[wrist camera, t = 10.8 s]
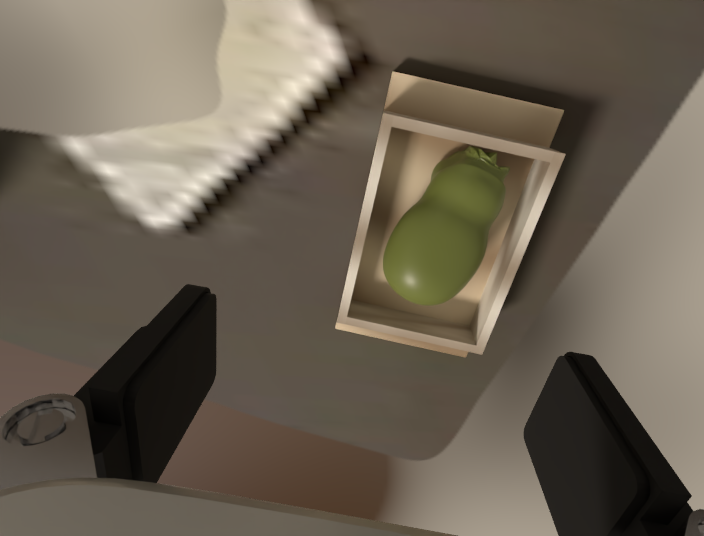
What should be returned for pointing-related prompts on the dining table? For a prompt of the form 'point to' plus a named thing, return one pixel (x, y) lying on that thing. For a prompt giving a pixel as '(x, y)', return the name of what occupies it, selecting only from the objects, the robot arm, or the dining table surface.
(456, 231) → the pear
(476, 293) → the open rectangular box
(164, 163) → the dining table surface
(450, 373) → the dining table surface
